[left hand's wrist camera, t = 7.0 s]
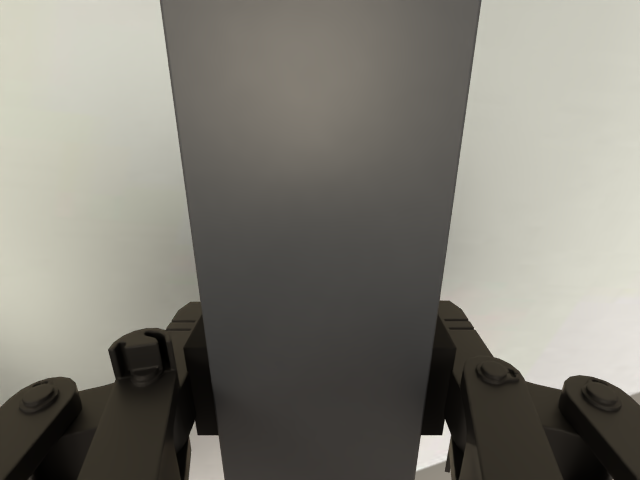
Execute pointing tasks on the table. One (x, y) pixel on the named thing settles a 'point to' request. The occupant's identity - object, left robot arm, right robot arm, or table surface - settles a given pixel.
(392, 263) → the plank
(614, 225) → the table surface
